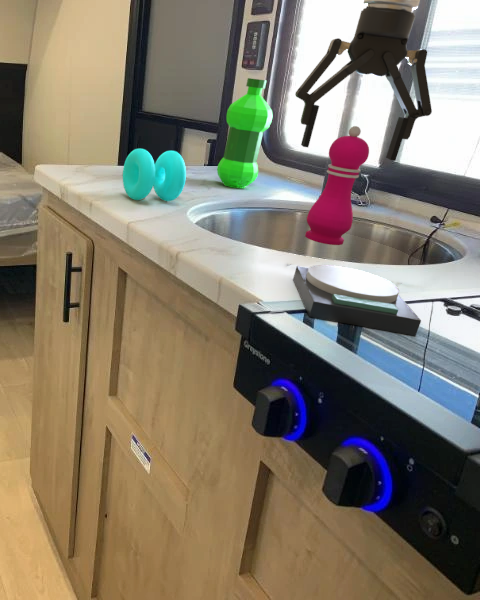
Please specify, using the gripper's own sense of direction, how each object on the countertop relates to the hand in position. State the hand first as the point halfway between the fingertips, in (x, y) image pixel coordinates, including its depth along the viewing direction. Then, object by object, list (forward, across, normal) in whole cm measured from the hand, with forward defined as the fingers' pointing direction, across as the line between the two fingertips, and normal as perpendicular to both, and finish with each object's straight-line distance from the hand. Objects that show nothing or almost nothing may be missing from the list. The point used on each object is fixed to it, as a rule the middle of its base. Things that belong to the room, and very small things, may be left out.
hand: (347, 152), depth 98 cm
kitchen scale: (+16, -2, -30) cm, 34 cm away
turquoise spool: (+16, -31, +14) cm, 38 cm away
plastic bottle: (+16, -13, +47) cm, 51 cm away
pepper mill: (+16, 0, 0) cm, 16 cm away
